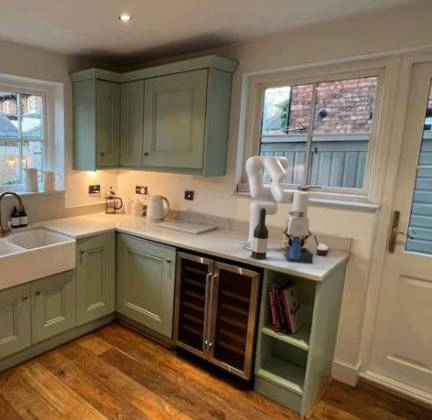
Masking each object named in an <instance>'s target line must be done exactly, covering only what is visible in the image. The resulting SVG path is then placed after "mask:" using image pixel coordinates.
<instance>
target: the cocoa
mask: <svg viewBox="0 0 432 420" xmlns="http://www.w3.org/2000/svg"><path fill="white" fill-rule="evenodd" d="M313 237H314V241H315V243H316V248H315V249H316V253H317V255H319V256H326V255H328V254H330V253H331V250H330V249H329V247H328V246H327V245H325V244H324V243H318V240H317V237H316V234H315V235H313Z"/></svg>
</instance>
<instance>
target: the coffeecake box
mask: <svg viewBox="0 0 432 420" xmlns="http://www.w3.org/2000/svg"><path fill="white" fill-rule="evenodd" d="M288 222H289V218H288V219H287V218H286V219H284V228H283V231H284V230H285V229H286V228H287V226H288ZM286 233H287V234H288V235H289V233H288V232H286ZM294 236H297V237H300V241H301V239H302V237H301V235H293V236H292V241H293V238H294ZM288 239H289V238H288V237H287V236H286V235H285V234H283V237H282V246H281V249H283V250H286V247H290V246H289V245H288ZM300 241H299V242H300ZM307 243H308V238H307V239H306V240H305V241H304V246H303V247H301V248H307Z"/></svg>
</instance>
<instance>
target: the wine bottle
mask: <svg viewBox="0 0 432 420" xmlns="http://www.w3.org/2000/svg"><path fill="white" fill-rule="evenodd" d="M266 216H267V215H266V210H265V208H261V209H260V217H259V224H258V225H257V226H256V228H255V229H254V235H253V246H252V250H251V258H252V259H254V260H260V261H261V260H266V259H267V249H268V240H269V230H268V228H267V224H266V225H265V221H266Z"/></svg>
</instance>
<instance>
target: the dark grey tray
mask: <svg viewBox="0 0 432 420" xmlns="http://www.w3.org/2000/svg"><path fill="white" fill-rule="evenodd" d="M290 248H291V247H286V249H285V252H284V255H285V256H286V257H287V259H288V260H289V261H290V262H297V263H308V264H312V263H313V259H314V254H313V253H312V252H311V251H310V250H309V249H308V248H307V247H306V248H301V251H300V259H292V258H290Z"/></svg>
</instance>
